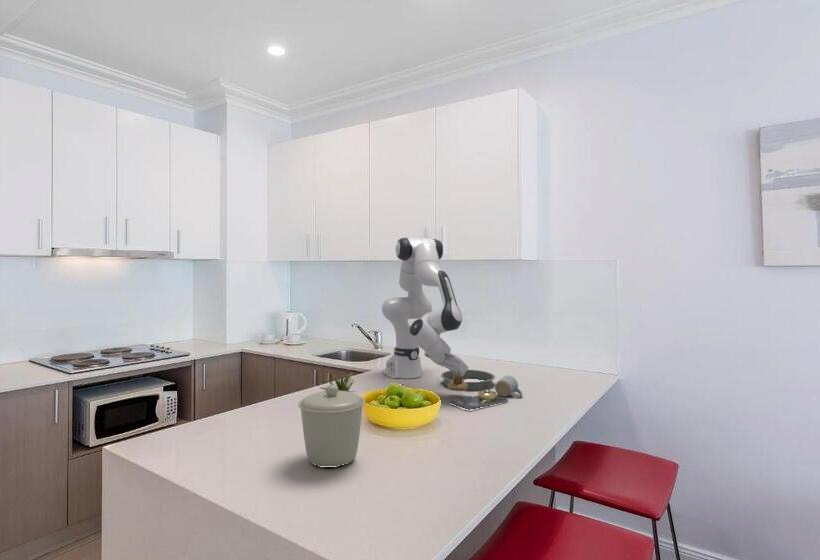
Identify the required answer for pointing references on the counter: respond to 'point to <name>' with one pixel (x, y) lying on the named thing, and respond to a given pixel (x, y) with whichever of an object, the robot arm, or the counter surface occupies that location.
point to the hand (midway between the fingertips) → (459, 373)
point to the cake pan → (471, 375)
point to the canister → (331, 426)
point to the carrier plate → (479, 400)
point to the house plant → (342, 383)
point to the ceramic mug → (507, 387)
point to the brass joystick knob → (457, 383)
